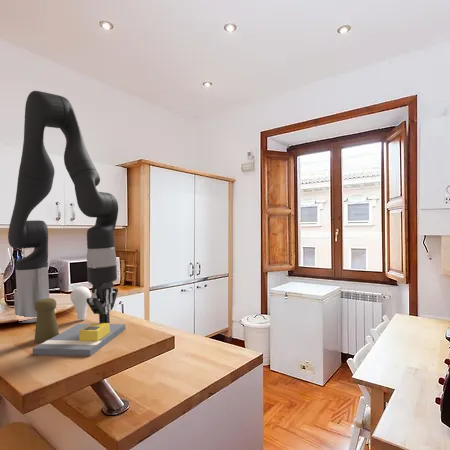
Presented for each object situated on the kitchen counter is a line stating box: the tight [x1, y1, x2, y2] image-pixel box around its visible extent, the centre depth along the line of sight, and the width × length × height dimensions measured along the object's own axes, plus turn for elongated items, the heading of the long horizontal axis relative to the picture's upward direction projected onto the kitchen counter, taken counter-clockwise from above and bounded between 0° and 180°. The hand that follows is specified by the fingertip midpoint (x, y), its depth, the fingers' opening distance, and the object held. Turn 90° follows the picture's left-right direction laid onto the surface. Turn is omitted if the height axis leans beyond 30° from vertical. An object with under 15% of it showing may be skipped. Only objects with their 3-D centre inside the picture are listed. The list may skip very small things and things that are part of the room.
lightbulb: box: [69, 285, 92, 321], centre depth 101 cm, size 6×6×11 cm
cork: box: [33, 297, 60, 344], centre depth 85 cm, size 6×6×11 cm
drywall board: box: [32, 323, 126, 357], centre depth 83 cm, size 15×18×2 cm
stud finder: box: [79, 322, 111, 341], centre depth 81 cm, size 5×6×3 cm
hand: (104, 326), depth 86 cm, fingers closed
